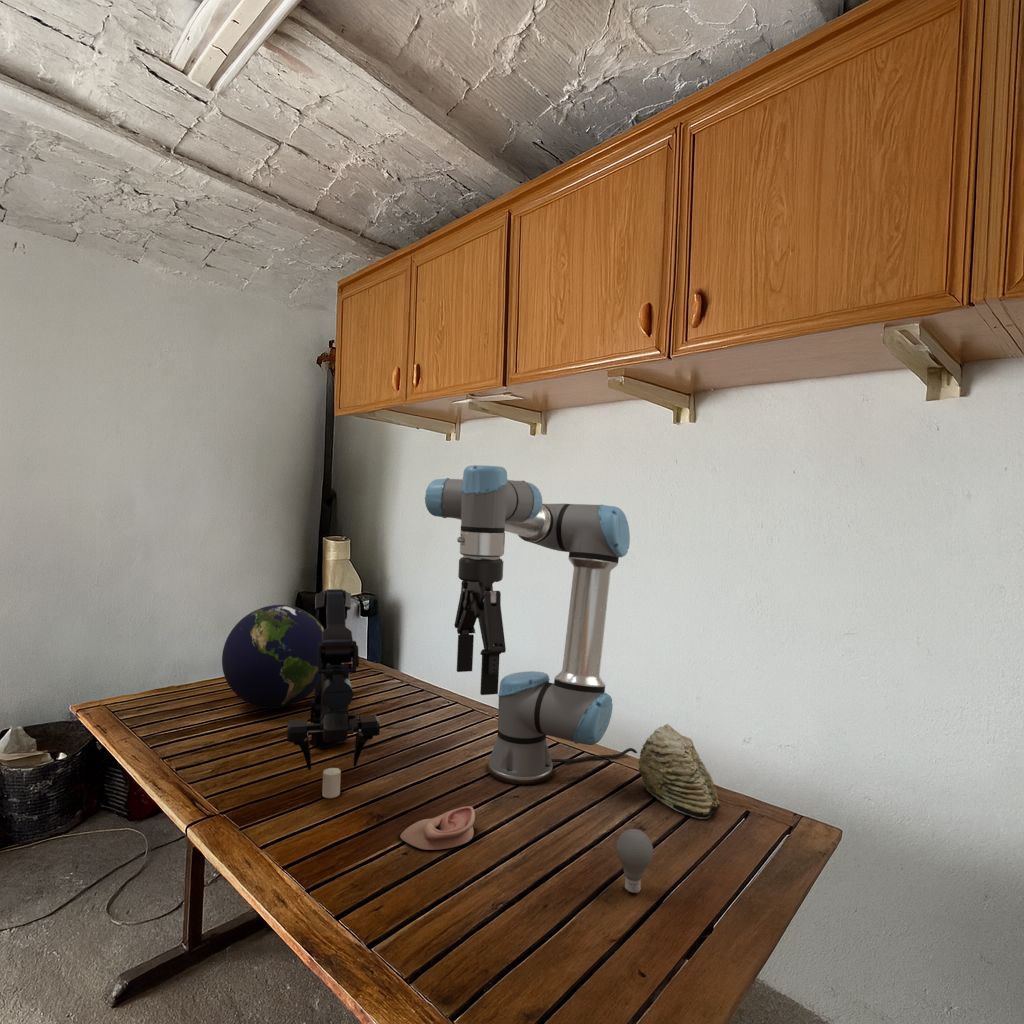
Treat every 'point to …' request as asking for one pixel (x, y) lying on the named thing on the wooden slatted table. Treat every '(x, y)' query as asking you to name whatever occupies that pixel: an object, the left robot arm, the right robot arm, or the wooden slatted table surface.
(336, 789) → the cylinder
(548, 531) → the right robot arm
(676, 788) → the fossil
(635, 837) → the light bulb
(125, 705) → the wooden slatted table surface
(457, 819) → the anatomical model
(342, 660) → the left robot arm
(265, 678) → the globe
